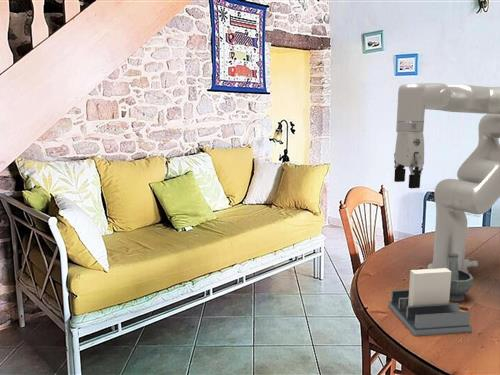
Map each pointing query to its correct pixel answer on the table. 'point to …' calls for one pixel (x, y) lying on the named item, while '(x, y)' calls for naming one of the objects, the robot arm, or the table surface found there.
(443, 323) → the rack
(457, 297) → the mortar and pestle
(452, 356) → the table surface
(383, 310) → the table surface
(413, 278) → the white flat block
